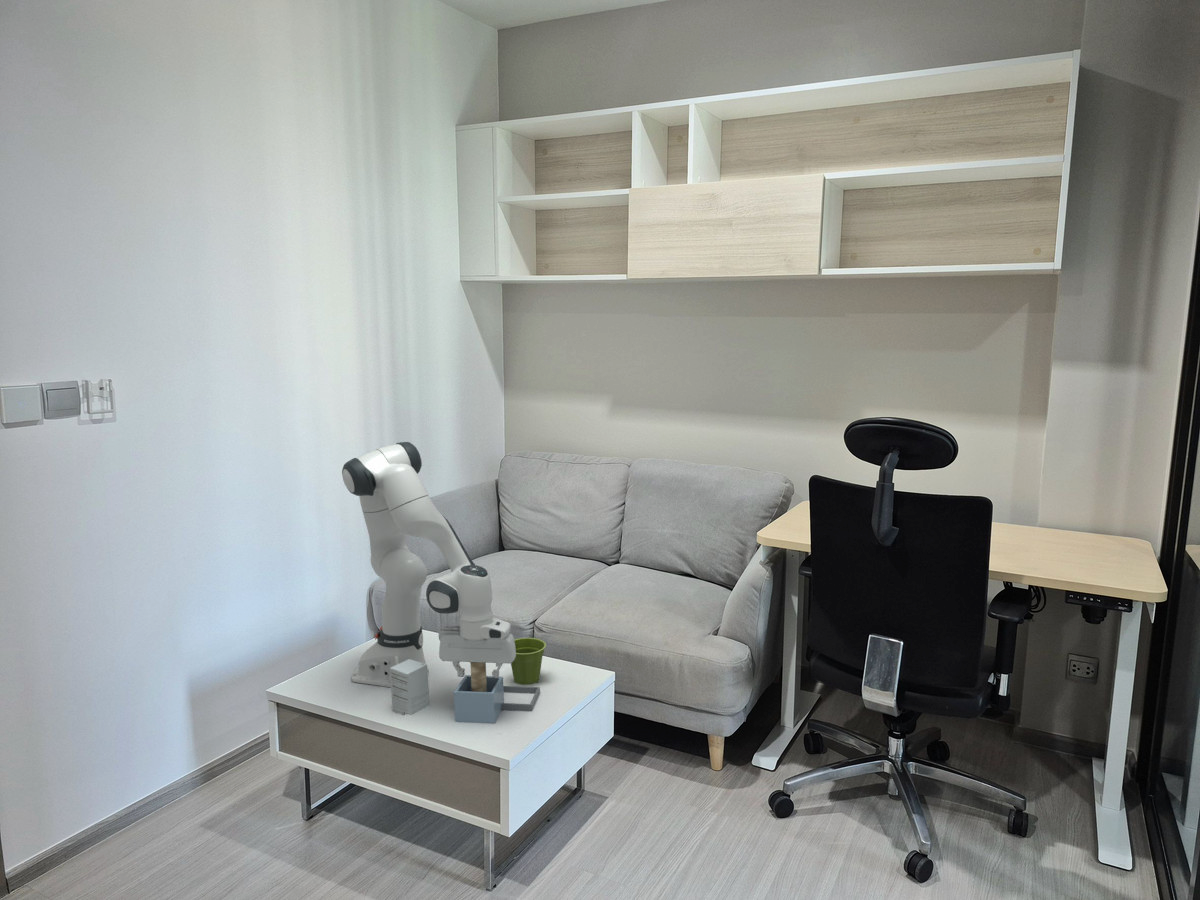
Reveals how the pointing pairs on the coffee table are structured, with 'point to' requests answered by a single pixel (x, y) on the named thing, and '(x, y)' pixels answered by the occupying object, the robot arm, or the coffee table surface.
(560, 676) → the coffee table surface
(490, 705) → the blue storage bin
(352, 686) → the coffee table surface
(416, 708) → the supplement box
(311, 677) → the coffee table surface
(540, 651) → the plant pot
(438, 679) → the coffee table surface
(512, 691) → the tray
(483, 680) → the dowel
